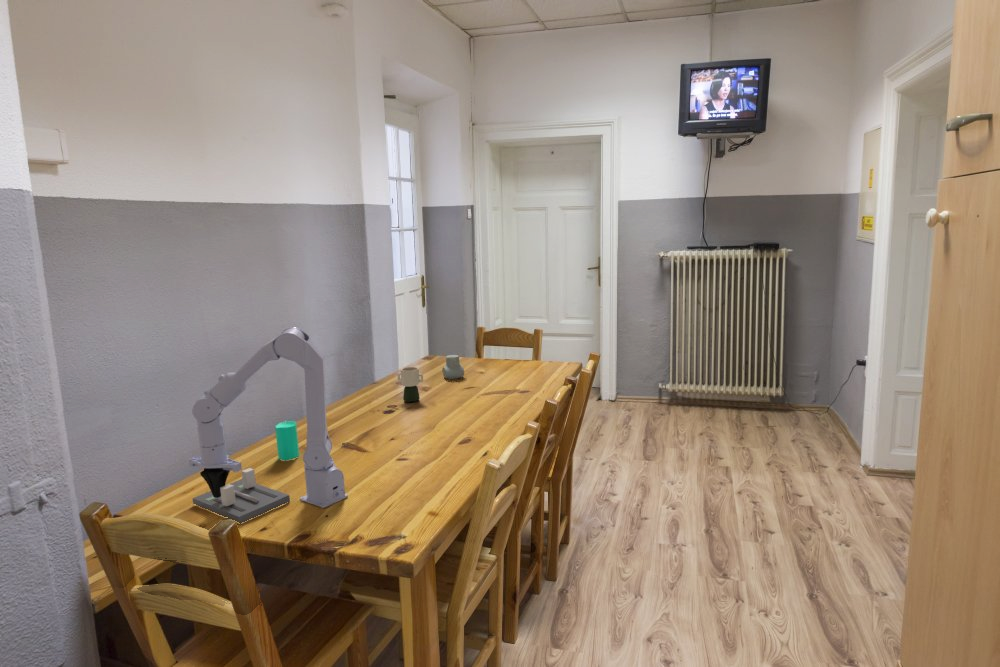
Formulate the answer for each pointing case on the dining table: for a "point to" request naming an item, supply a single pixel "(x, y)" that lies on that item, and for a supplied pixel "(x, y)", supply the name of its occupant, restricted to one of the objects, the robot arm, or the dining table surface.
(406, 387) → the character mug
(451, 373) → the air freshener
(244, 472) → the breaker
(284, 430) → the candle
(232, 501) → the block
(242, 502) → the slider control panel
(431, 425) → the dining table surface
